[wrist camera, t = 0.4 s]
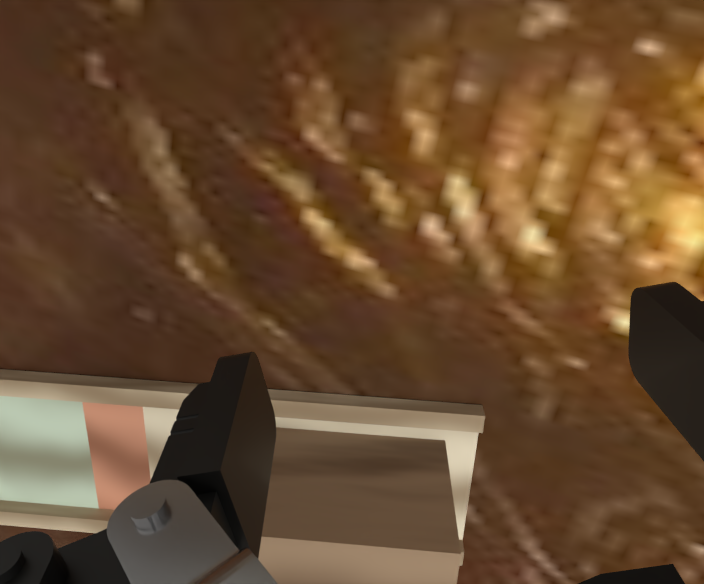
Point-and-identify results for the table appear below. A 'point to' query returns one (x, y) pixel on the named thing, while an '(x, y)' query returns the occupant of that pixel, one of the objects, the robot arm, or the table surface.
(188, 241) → the table surface
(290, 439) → the walnut block
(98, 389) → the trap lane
